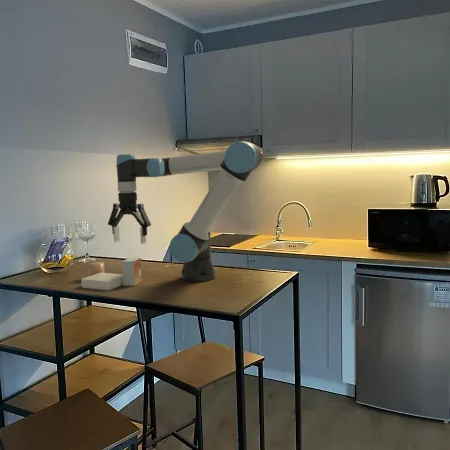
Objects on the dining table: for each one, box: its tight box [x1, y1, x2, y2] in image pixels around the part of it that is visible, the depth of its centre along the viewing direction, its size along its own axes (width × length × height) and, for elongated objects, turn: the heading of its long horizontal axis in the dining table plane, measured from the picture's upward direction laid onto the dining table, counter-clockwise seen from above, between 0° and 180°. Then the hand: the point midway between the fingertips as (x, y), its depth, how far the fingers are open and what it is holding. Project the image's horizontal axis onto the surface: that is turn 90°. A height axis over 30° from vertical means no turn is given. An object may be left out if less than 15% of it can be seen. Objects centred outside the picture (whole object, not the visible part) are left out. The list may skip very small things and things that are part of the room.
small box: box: [121, 257, 143, 287], centre depth 192 cm, size 8×6×10 cm
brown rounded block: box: [87, 261, 106, 277], centre depth 203 cm, size 7×7×7 cm
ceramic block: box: [81, 272, 123, 291], centre depth 192 cm, size 14×12×4 cm
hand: (130, 242), depth 191 cm, fingers open, 13 cm apart
